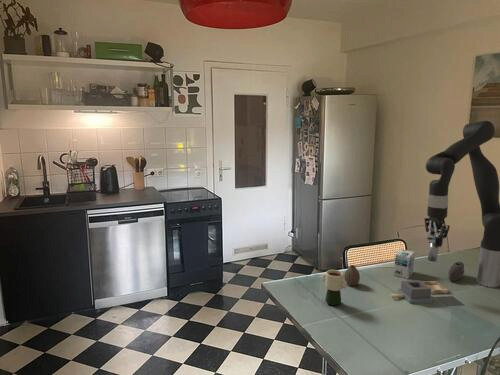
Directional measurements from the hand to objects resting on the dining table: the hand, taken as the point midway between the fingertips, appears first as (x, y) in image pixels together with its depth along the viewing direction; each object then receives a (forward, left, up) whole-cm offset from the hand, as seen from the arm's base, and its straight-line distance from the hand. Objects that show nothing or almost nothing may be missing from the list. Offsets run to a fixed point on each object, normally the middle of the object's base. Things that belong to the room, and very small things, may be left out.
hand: (435, 244), depth 157 cm
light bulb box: (+1, -21, -23) cm, 31 cm away
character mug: (+45, +6, -22) cm, 51 cm away
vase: (+31, -11, -22) cm, 40 cm away
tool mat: (-4, +8, -22) cm, 24 cm away
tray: (-4, -4, -22) cm, 23 cm away
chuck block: (+11, +4, -22) cm, 25 cm away
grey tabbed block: (+1, 0, -7) cm, 7 cm away
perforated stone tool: (-21, -14, -23) cm, 34 cm away
